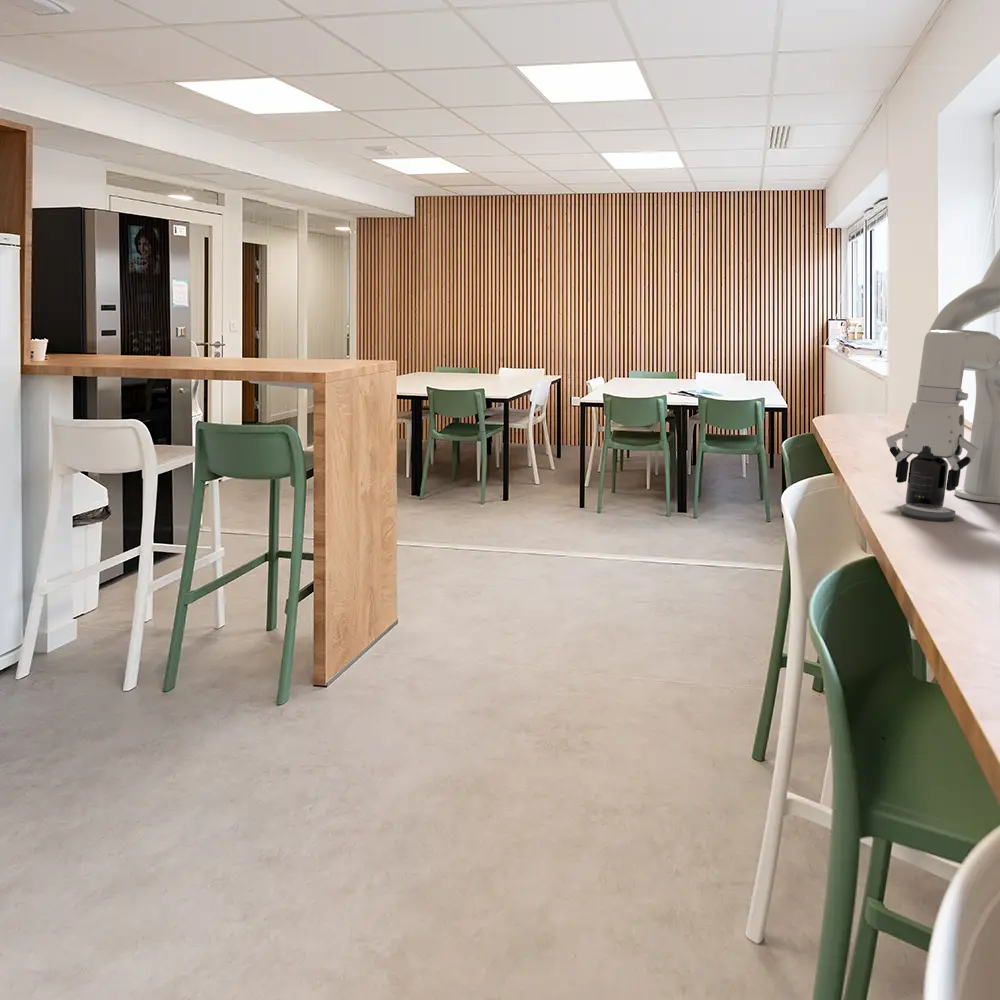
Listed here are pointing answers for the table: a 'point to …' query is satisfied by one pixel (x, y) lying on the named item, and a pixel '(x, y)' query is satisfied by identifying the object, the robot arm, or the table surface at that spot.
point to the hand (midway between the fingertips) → (925, 485)
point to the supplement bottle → (927, 479)
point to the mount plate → (928, 512)
